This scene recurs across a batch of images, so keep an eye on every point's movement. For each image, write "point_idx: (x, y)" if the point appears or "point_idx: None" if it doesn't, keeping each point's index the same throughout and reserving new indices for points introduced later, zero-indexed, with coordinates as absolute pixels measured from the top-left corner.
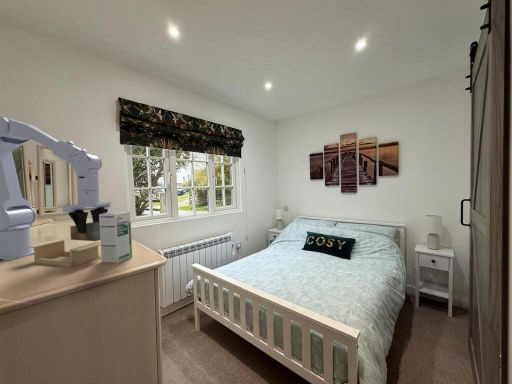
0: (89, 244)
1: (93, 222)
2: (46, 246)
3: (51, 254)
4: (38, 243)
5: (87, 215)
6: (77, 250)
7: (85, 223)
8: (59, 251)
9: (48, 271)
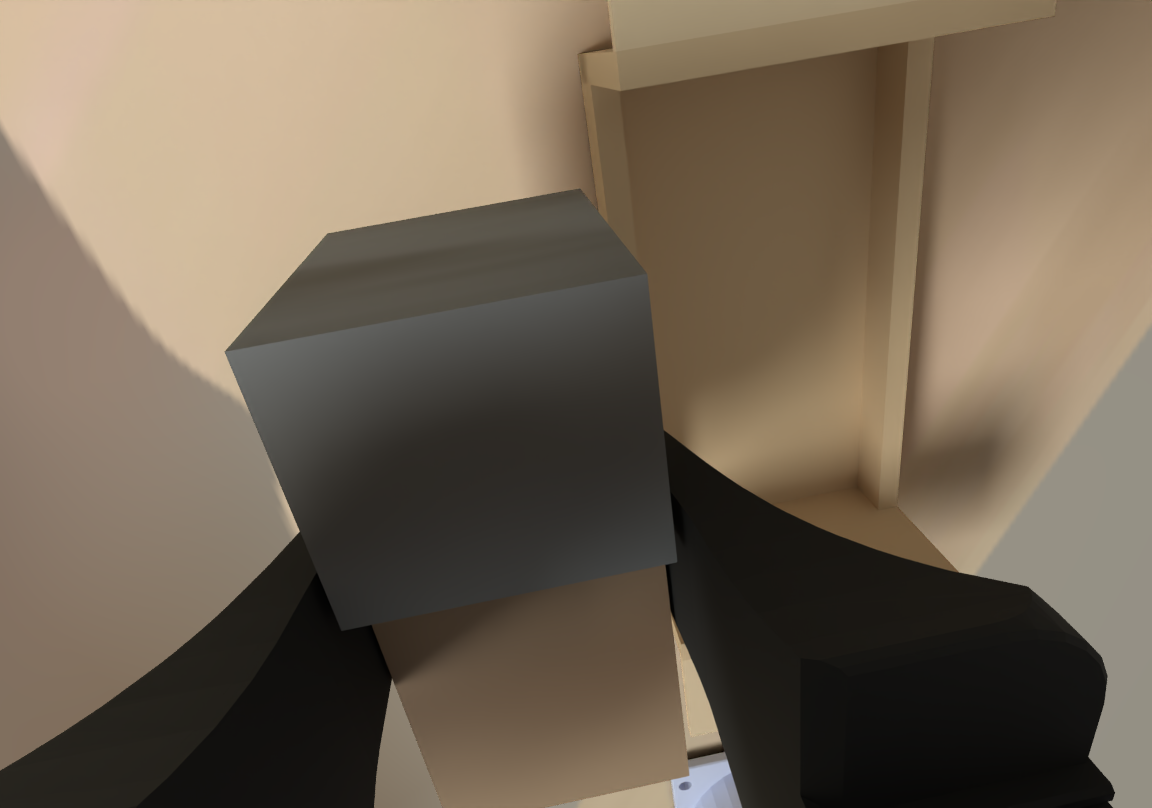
0: (766, 34)
1: (505, 535)
2: None
3: None
4: None
5: (762, 617)
6: None
7: (703, 512)
8: None
9: (1017, 132)
